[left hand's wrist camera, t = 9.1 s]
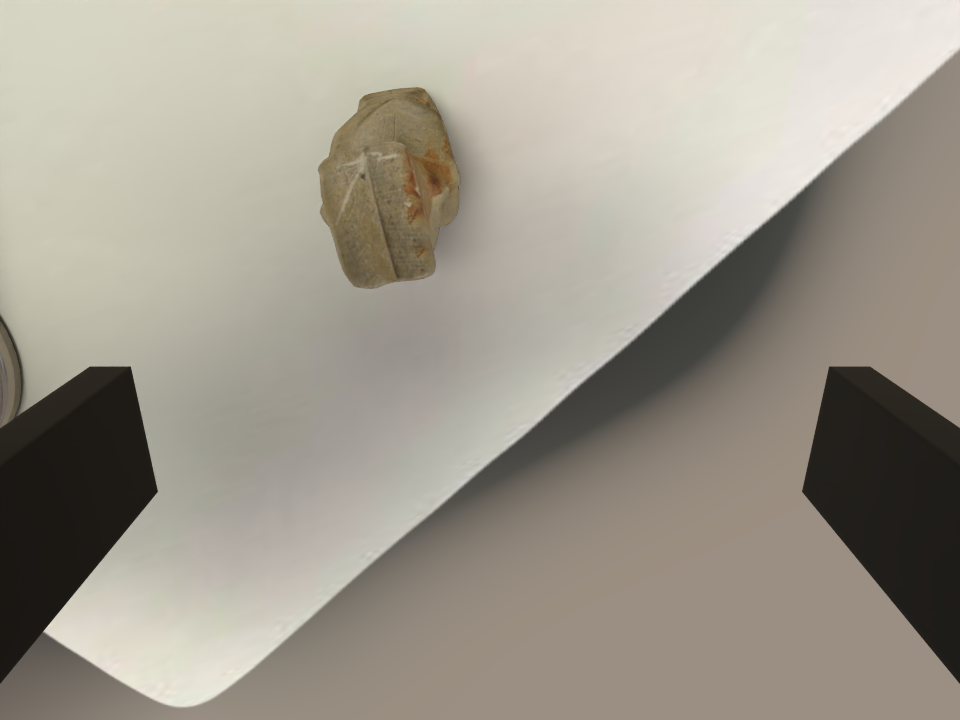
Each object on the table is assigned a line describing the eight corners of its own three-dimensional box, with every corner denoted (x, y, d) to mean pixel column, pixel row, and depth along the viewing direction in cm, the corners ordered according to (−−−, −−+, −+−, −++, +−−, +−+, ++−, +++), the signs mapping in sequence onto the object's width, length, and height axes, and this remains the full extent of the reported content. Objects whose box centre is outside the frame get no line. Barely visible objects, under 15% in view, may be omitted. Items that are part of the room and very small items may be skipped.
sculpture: (371, 230, 37) (306, 308, 23) (348, 96, 35) (260, 93, 21) (471, 219, 37) (466, 291, 23) (456, 83, 34) (441, 72, 21)
